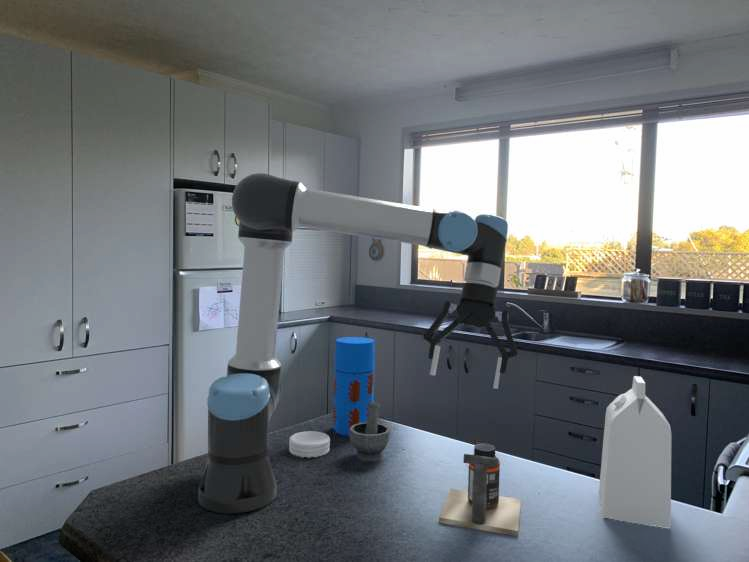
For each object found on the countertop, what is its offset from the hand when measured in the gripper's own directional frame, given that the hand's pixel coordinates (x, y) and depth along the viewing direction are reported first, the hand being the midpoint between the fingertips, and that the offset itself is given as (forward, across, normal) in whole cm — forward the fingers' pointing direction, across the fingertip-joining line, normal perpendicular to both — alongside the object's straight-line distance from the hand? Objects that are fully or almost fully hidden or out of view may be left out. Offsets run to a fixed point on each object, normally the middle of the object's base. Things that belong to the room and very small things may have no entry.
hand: (463, 381), depth 117 cm
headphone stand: (+24, -9, +7) cm, 26 cm away
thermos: (+20, +31, -28) cm, 46 cm away
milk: (+18, -36, -4) cm, 41 cm away
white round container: (+25, +35, -11) cm, 44 cm away
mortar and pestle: (+22, +20, -13) cm, 33 cm away
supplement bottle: (+22, -8, +5) cm, 24 cm away
